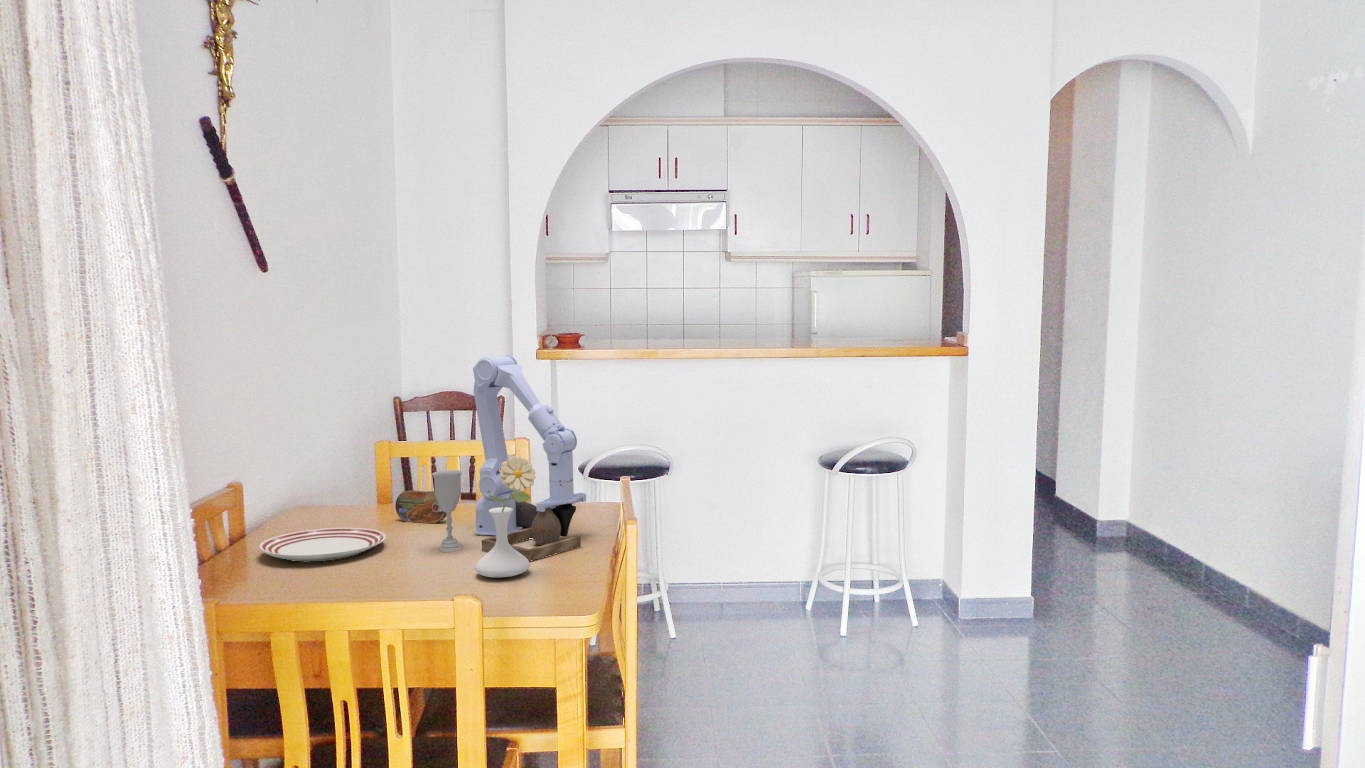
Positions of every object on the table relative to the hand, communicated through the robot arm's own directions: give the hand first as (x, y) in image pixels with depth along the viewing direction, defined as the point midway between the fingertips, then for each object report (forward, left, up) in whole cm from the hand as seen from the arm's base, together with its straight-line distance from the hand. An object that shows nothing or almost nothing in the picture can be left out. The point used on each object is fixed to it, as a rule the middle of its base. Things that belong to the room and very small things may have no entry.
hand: (562, 535), depth 220 cm
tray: (-4, -9, -1) cm, 10 cm away
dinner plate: (-51, -21, -2) cm, 55 cm away
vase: (-2, -4, -1) cm, 5 cm away
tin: (-44, +11, -1) cm, 46 cm away
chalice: (-23, -13, -1) cm, 26 cm away
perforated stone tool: (-16, +11, -1) cm, 19 cm away
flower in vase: (-1, -29, -1) cm, 29 cm away
